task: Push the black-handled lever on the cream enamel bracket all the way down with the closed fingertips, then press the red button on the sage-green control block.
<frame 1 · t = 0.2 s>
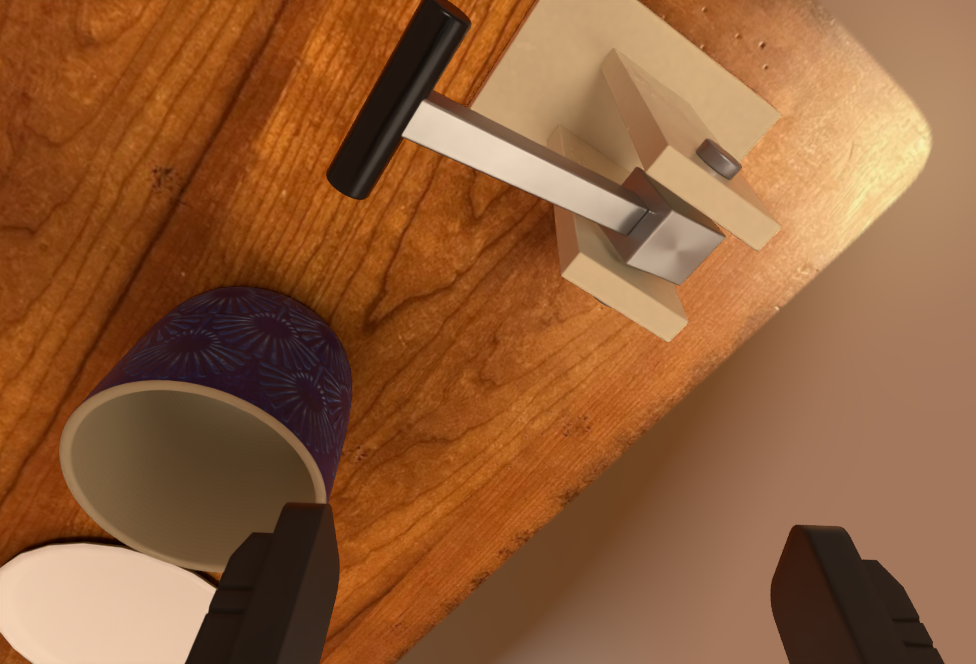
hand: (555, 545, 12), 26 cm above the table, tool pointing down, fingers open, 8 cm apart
plate: (131, 618, 57), on the table
planter: (266, 353, 42), on the table
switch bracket: (613, 114, 34), on the table
lever: (557, 179, 20), point 15 cm above the table, hinge at 25.0°
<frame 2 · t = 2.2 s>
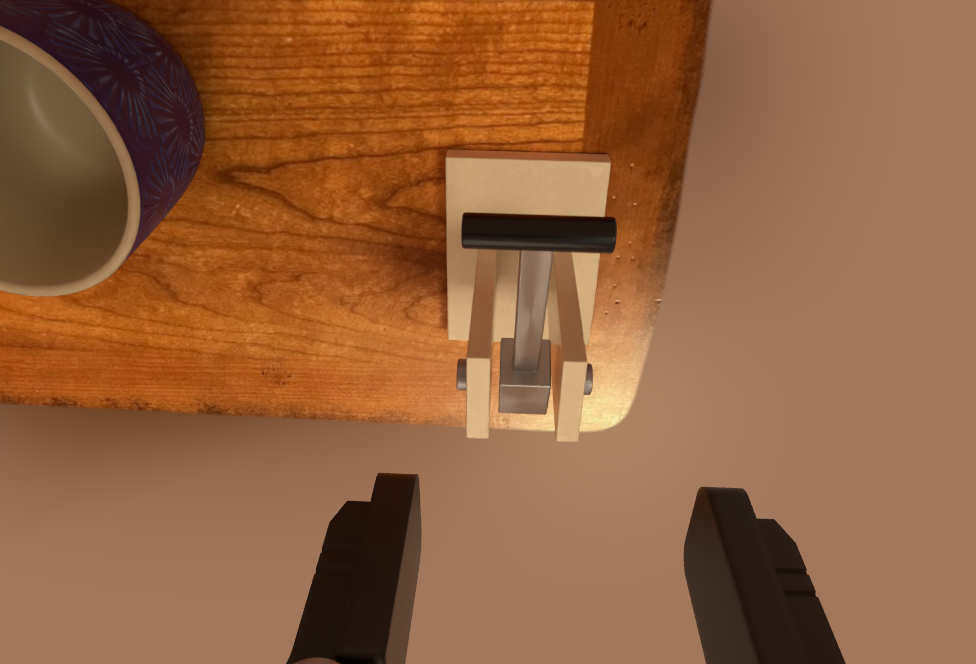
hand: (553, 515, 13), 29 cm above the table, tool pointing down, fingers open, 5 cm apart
planter: (115, 98, 39), on the table
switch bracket: (522, 248, 43), on the table
lever: (529, 321, 28), point 15 cm above the table, hinge at 25.0°
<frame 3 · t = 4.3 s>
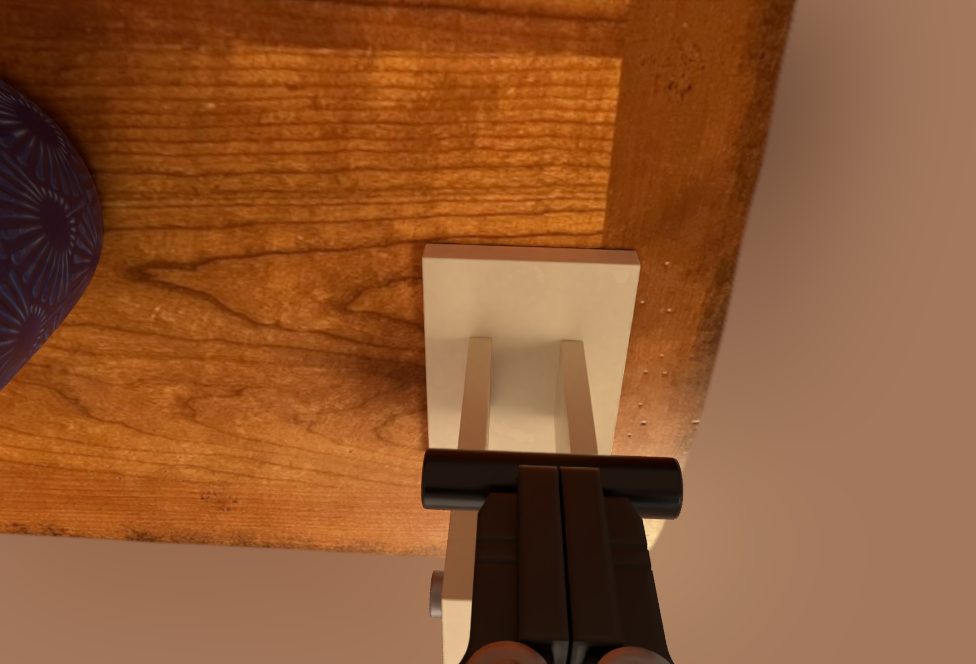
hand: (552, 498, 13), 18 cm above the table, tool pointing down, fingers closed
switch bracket: (523, 360, 33), on the table
lever: (534, 558, 18), point 15 cm above the table, hinge at 23.8°, touching gripper
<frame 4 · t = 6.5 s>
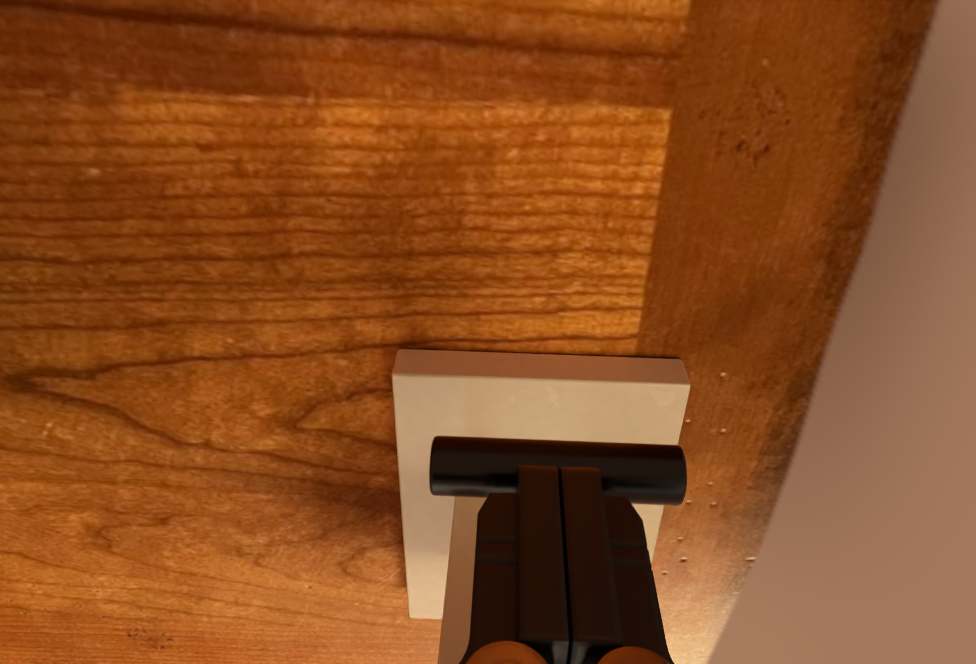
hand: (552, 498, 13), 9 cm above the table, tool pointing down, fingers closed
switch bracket: (530, 488, 25), on the table
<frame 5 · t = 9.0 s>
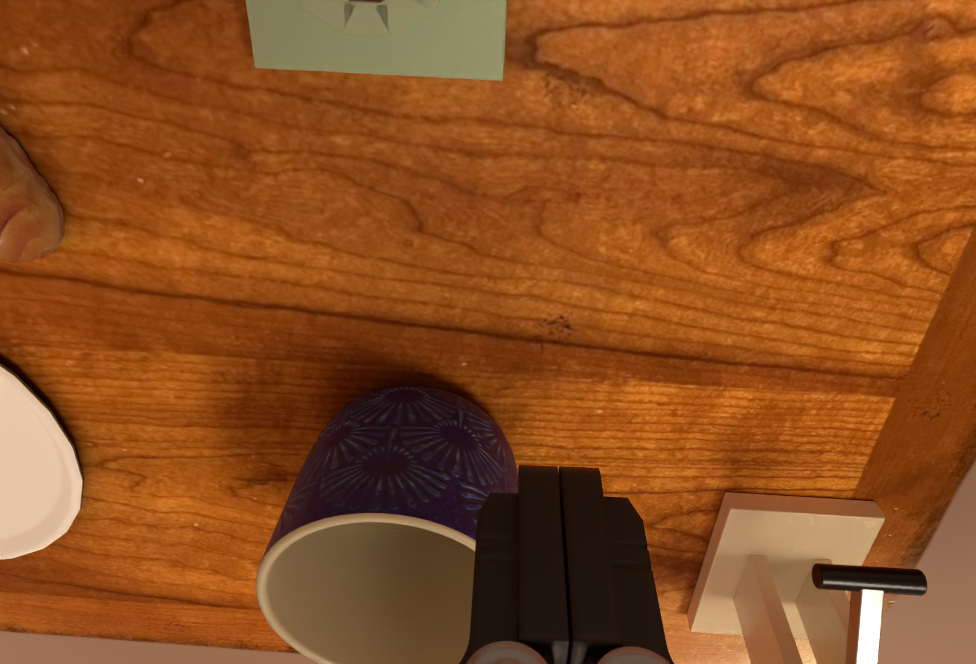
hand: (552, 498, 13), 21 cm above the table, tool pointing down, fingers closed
planter: (420, 443, 41), on the table
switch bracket: (774, 561, 45), on the table
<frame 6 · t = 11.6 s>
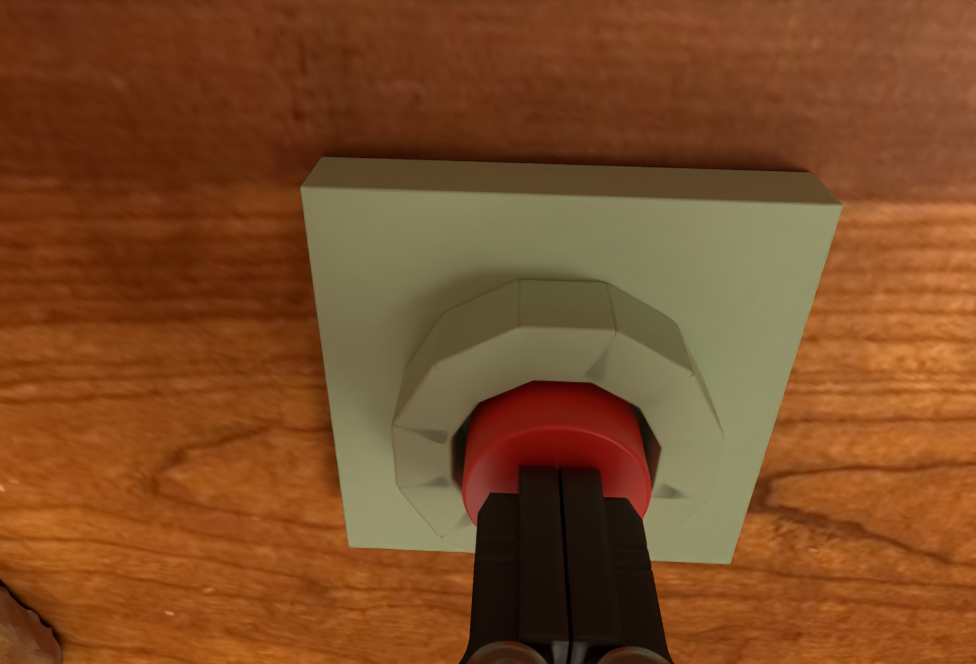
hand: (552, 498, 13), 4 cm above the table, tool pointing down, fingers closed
button block: (548, 363, 17), on the table
button: (554, 466, 14), point 4 cm above the table, slide at -0.3 cm, touching gripper
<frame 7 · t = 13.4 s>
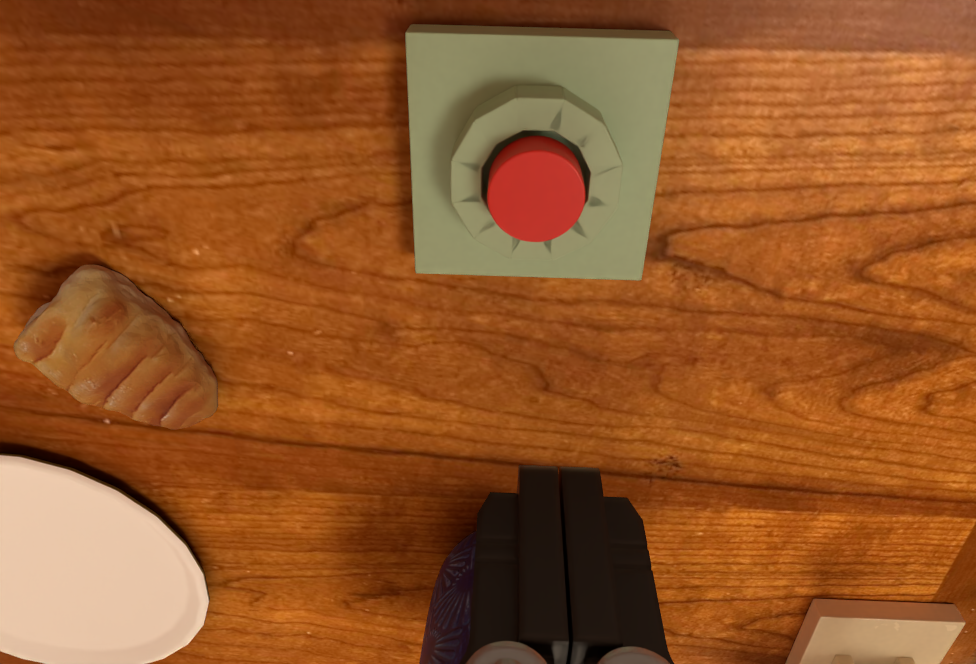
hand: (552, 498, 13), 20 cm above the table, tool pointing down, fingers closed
plate: (53, 559, 46), on the table
planter: (529, 562, 44), on the table
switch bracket: (855, 655, 48), on the table
pastry: (133, 332, 36), on the table
button block: (533, 154, 30), on the table
button: (535, 189, 26), point 4 cm above the table, slide at 0.1 cm
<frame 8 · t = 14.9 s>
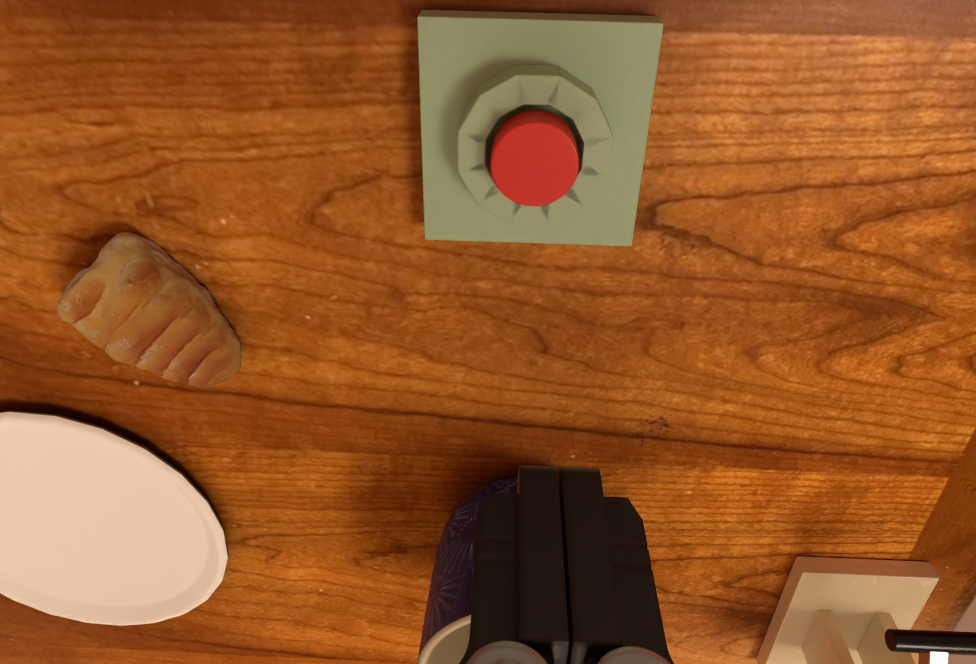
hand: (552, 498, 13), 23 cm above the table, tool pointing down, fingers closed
plate: (82, 517, 49), on the table
planter: (528, 520, 47), on the table
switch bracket: (837, 613, 51), on the table
pastry: (163, 298, 39), on the table
button block: (532, 129, 33), on the table
button: (534, 158, 29), point 4 cm above the table, slide at 0.1 cm
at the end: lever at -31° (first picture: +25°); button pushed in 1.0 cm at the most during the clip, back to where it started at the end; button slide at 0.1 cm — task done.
